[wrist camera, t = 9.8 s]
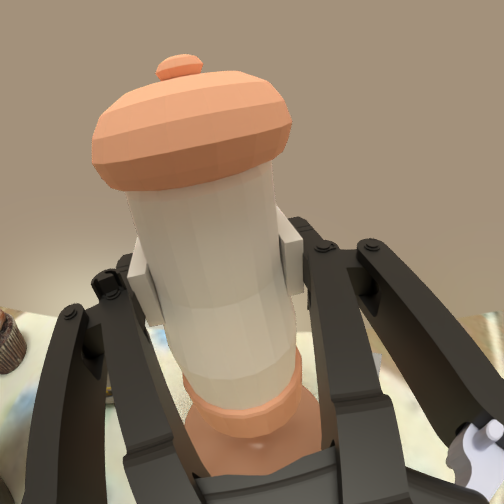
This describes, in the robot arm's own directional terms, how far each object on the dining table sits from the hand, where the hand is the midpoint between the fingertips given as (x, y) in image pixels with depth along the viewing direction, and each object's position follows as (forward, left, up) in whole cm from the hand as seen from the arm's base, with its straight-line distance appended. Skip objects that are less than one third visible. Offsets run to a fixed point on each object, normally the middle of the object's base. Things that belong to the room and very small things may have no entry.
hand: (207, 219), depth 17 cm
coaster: (+3, -4, -19) cm, 19 cm away
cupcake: (-35, -13, -19) cm, 42 cm away
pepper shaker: (+3, -4, -11) cm, 12 cm away
